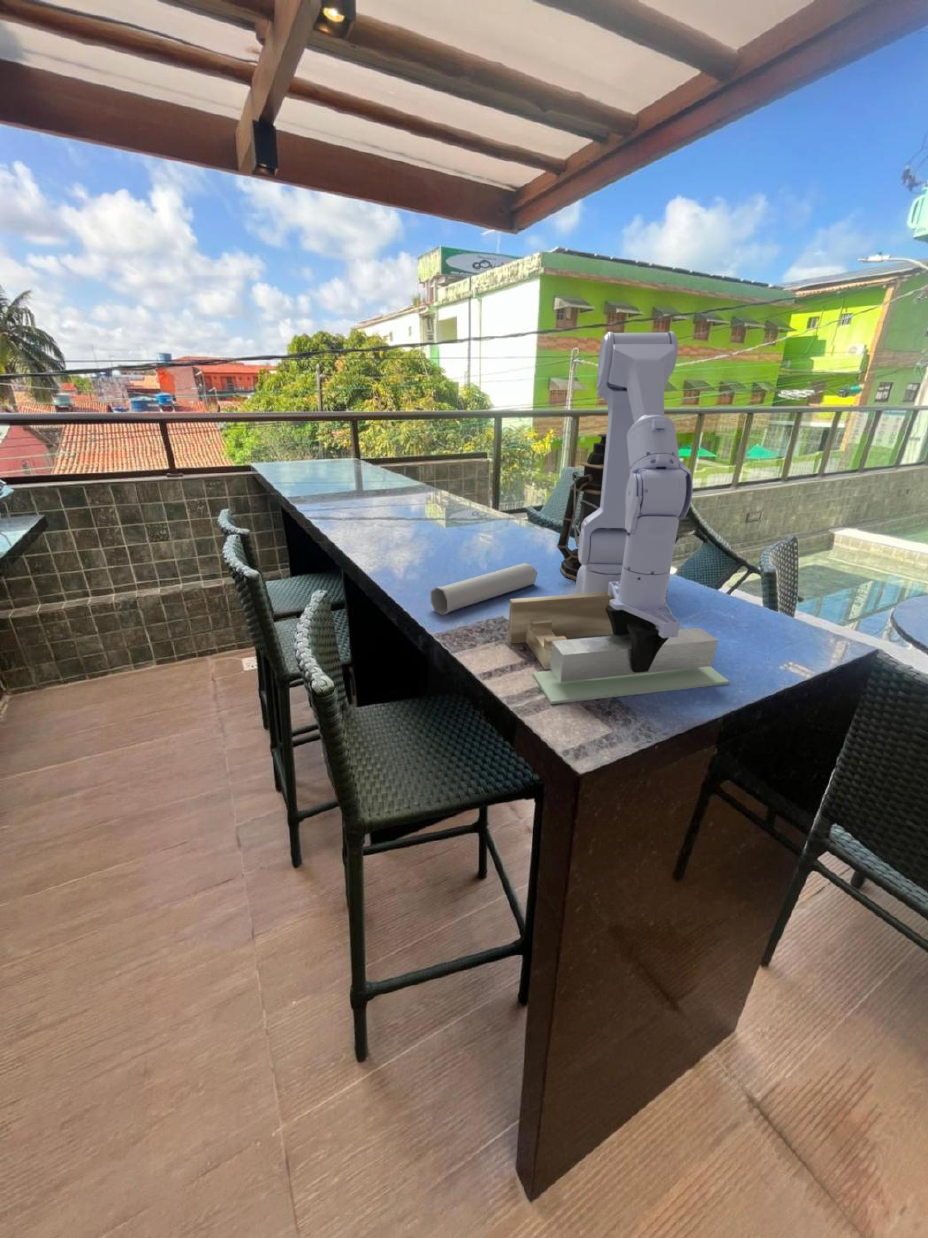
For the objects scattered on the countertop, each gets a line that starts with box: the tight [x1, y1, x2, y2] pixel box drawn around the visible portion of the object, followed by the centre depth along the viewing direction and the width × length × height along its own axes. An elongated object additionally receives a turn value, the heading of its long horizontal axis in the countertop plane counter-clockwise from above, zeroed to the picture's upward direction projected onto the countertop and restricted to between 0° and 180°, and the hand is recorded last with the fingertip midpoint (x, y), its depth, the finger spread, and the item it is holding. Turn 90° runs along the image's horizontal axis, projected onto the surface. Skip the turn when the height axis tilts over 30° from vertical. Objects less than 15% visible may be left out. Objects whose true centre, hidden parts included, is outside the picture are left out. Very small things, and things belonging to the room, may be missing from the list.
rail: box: [550, 627, 719, 682], centre depth 68 cm, size 4×22×4 cm, turn 101°
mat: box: [531, 666, 730, 705], centre depth 70 cm, size 8×26×1 cm, turn 101°
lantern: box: [556, 433, 626, 582], centre depth 106 cm, size 20×16×30 cm
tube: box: [430, 562, 538, 616], centre depth 98 cm, size 5×5×25 cm
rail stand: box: [508, 591, 683, 671], centre depth 78 cm, size 10×26×7 cm, turn 101°
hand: (631, 662), depth 69 cm, fingers closed on rail, 4 cm apart
